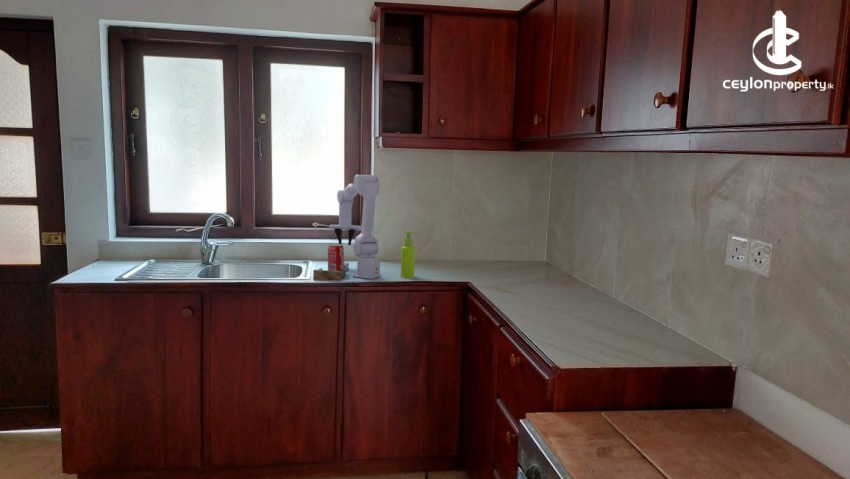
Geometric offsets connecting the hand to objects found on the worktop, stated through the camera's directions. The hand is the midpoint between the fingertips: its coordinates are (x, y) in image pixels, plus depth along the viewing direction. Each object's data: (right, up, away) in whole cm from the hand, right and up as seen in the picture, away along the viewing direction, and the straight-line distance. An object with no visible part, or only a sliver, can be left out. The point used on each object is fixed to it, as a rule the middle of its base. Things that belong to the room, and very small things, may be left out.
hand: (344, 244), depth 276 cm
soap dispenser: (+30, -14, -18) cm, 38 cm away
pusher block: (-1, -12, -6) cm, 13 cm away
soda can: (-2, -13, -15) cm, 20 cm away
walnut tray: (-3, -14, -25) cm, 28 cm away
